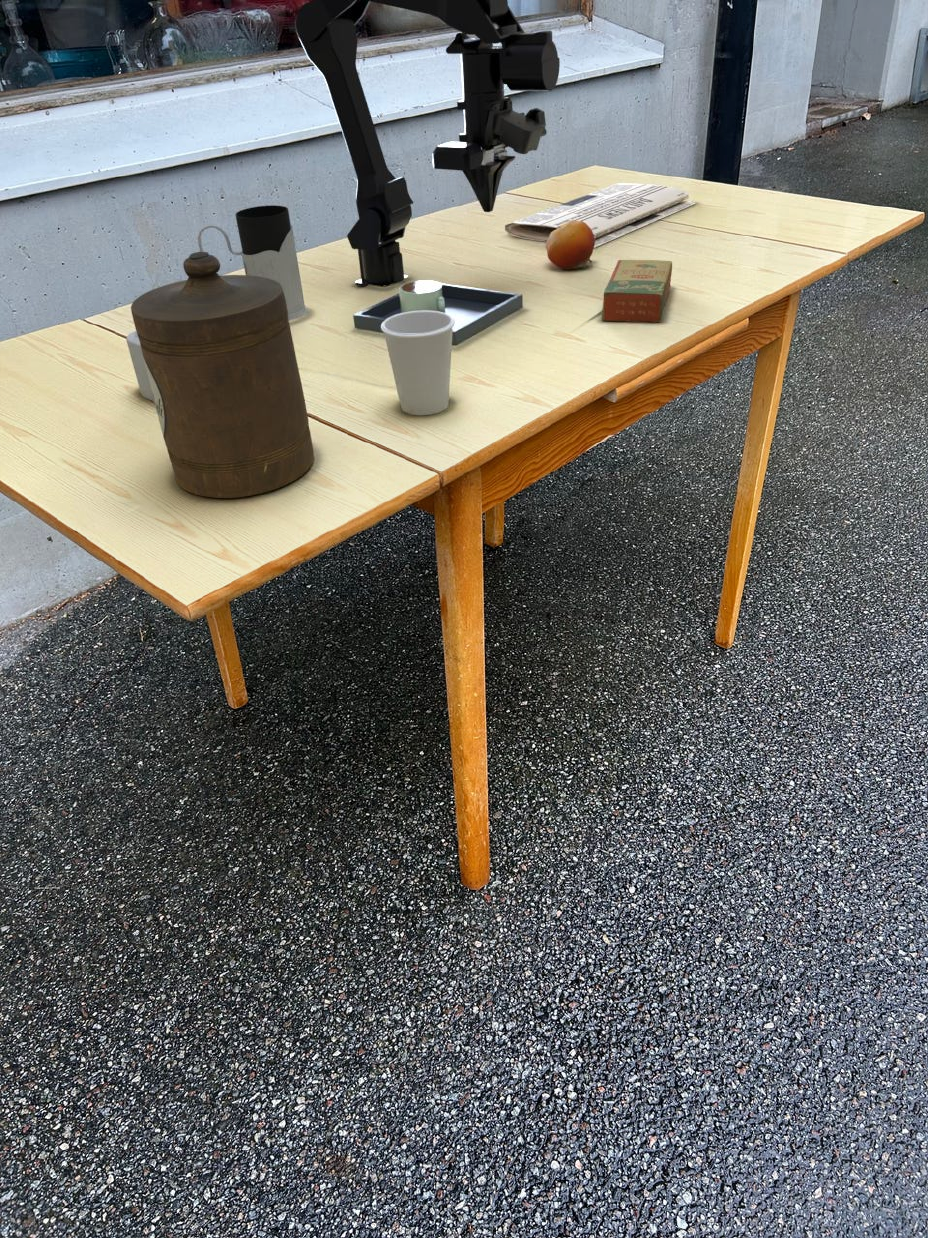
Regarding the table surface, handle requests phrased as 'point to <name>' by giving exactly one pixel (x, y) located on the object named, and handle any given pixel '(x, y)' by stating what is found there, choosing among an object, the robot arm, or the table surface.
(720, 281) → the table surface
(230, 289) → the wooden container
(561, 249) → the fruit
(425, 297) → the teacup
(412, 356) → the dixie cup
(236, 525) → the table surface
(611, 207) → the newspaper
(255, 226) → the glass holder
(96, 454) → the table surface
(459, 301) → the tray
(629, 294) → the carton
